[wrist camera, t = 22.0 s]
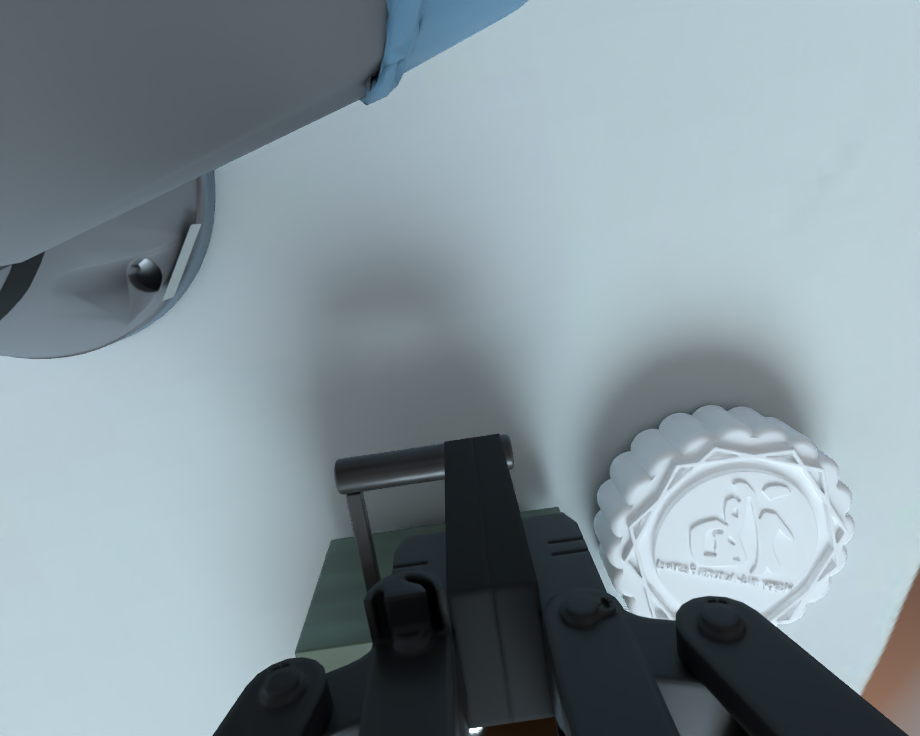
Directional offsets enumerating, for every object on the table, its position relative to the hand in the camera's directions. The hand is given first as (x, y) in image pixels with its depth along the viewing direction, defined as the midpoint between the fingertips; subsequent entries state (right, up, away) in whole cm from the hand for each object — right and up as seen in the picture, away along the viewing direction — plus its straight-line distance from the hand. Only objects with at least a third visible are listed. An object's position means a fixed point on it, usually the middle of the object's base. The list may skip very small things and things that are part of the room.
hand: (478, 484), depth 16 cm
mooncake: (+12, -4, +15) cm, 20 cm away
